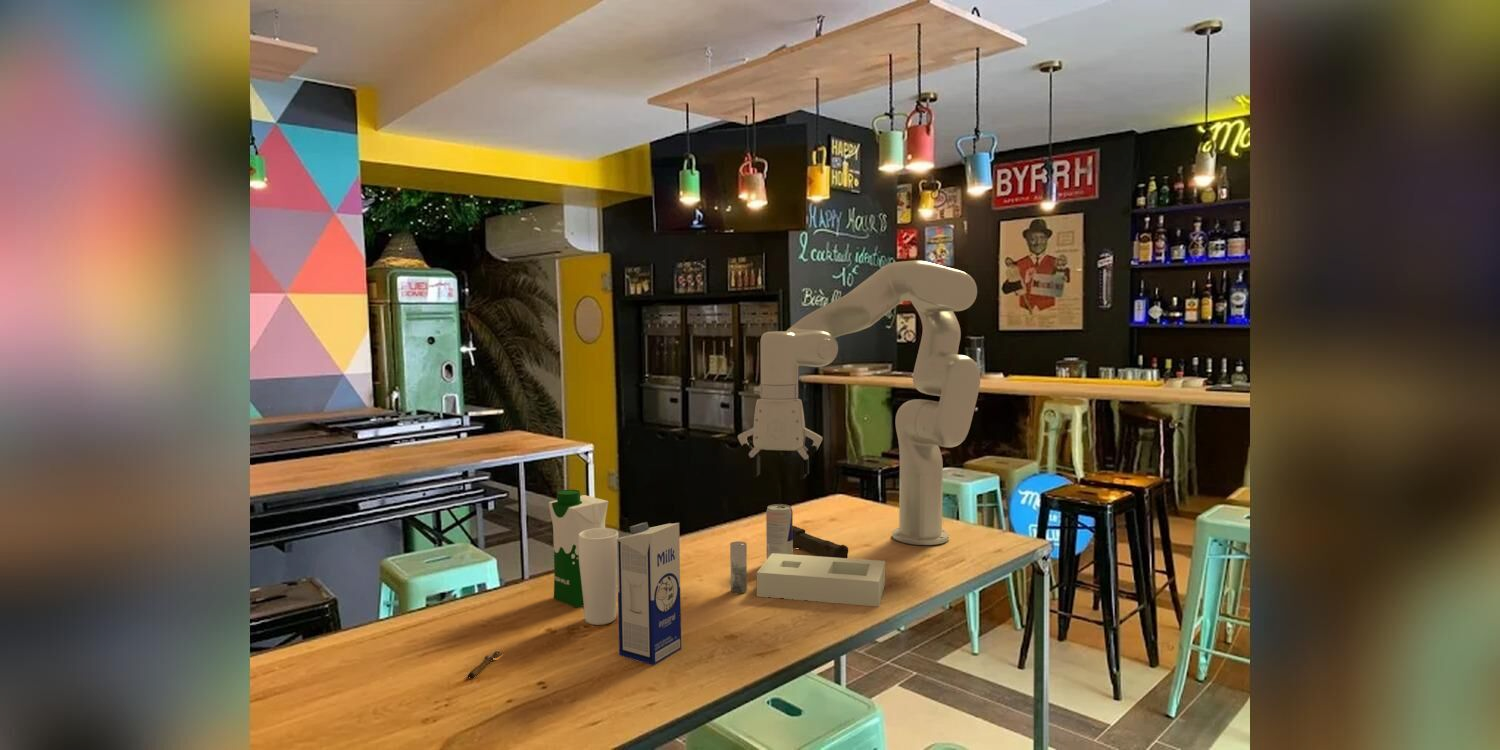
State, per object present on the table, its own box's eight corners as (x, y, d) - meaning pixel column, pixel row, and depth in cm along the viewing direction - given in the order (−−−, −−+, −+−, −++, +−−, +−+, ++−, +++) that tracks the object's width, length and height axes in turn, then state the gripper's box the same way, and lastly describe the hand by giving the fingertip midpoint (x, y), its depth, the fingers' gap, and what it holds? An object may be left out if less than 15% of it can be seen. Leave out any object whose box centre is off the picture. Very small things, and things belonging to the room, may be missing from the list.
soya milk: (546, 598, 146) (543, 490, 145) (587, 586, 153) (585, 482, 151) (574, 610, 140) (571, 498, 139) (616, 597, 147) (613, 489, 145)
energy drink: (795, 562, 167) (795, 505, 166) (788, 570, 162) (788, 511, 161) (771, 559, 168) (770, 503, 167) (763, 567, 163) (762, 509, 162)
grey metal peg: (733, 587, 151) (732, 540, 151) (748, 589, 151) (748, 542, 150) (728, 593, 149) (728, 545, 148) (744, 594, 148) (744, 546, 147)
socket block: (772, 575, 158) (771, 553, 158) (885, 584, 153) (885, 560, 152) (757, 596, 147) (756, 572, 146) (878, 606, 141) (878, 581, 141)
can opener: (473, 681, 115) (473, 673, 115) (459, 679, 115) (459, 671, 115) (508, 655, 123) (508, 648, 123) (495, 653, 124) (495, 646, 124)
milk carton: (653, 665, 118) (650, 532, 117) (618, 655, 122) (615, 526, 120) (682, 648, 124) (680, 521, 123) (648, 639, 128) (645, 515, 126)
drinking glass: (586, 631, 132) (584, 541, 130) (575, 617, 137) (573, 531, 136) (626, 623, 135) (624, 535, 133) (613, 610, 141) (611, 525, 139)
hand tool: (849, 562, 167) (849, 540, 166) (834, 566, 165) (835, 543, 164) (794, 542, 182) (794, 521, 182) (779, 544, 180) (779, 524, 180)
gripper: (733, 394, 160) (733, 478, 162) (819, 395, 156) (819, 482, 157) (742, 390, 168) (743, 471, 169) (825, 391, 163) (825, 475, 165)
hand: (779, 476), depth 163 cm, fingers open, 9 cm apart
